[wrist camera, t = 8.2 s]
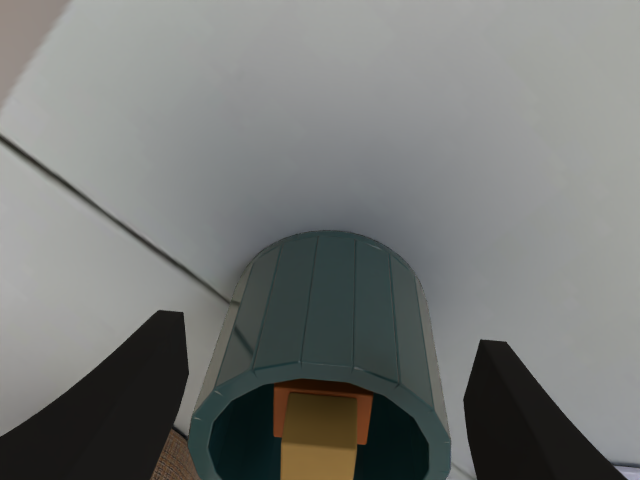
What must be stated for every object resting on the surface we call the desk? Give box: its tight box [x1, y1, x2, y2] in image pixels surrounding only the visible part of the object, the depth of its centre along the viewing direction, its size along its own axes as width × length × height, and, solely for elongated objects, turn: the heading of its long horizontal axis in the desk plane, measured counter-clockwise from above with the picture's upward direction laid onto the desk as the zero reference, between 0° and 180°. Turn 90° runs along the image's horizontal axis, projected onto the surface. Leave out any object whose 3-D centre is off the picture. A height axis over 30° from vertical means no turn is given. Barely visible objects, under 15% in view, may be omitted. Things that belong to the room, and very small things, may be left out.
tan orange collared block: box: [273, 379, 373, 480], centre depth 19 cm, size 8×3×2 cm
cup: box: [187, 230, 451, 480], centre depth 20 cm, size 8×8×8 cm
